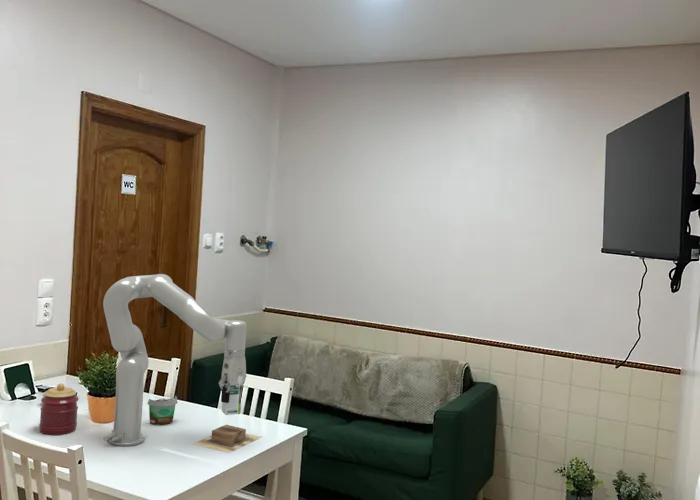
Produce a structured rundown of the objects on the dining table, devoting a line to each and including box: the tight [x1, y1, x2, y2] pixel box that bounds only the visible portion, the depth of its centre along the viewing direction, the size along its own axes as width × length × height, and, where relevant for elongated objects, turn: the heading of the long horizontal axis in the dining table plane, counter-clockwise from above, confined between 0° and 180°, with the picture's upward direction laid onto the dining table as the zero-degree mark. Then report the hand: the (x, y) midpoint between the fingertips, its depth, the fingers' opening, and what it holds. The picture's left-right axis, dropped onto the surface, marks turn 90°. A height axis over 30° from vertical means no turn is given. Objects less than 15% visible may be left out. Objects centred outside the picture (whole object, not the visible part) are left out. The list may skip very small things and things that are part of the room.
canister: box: [38, 383, 79, 436], centre depth 242 cm, size 13×13×18 cm
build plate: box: [192, 433, 262, 454], centre depth 242 cm, size 22×16×2 cm
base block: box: [211, 424, 247, 446], centre depth 242 cm, size 9×9×4 cm
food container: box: [147, 395, 178, 426], centre depth 260 cm, size 12×6×10 cm, turn 131°
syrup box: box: [221, 375, 243, 416], centre depth 242 cm, size 6×6×14 cm
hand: (231, 399), depth 242 cm, fingers closed on syrup box, 7 cm apart
